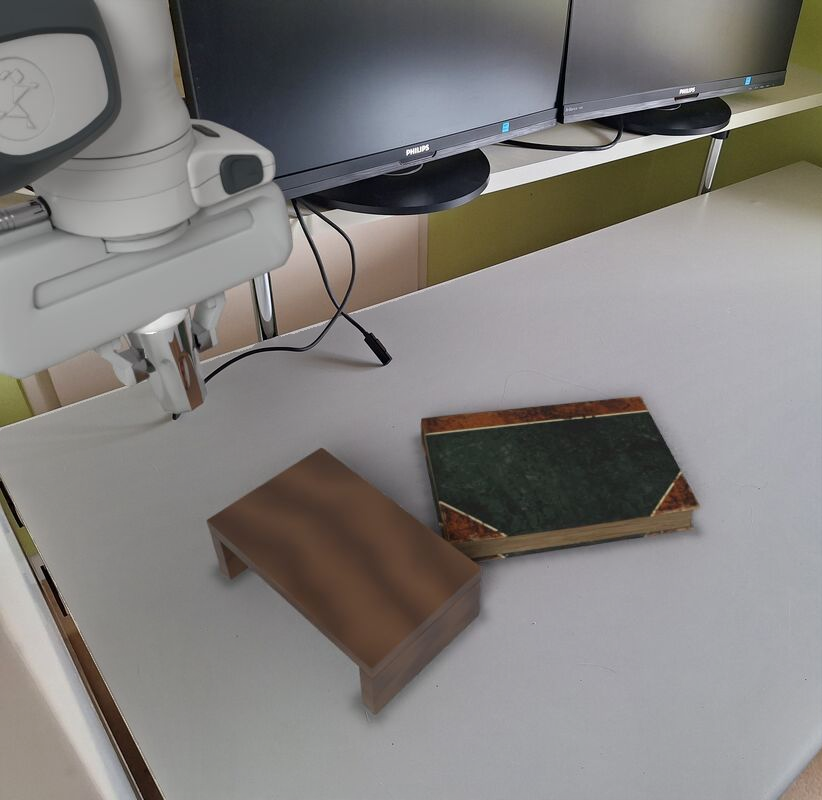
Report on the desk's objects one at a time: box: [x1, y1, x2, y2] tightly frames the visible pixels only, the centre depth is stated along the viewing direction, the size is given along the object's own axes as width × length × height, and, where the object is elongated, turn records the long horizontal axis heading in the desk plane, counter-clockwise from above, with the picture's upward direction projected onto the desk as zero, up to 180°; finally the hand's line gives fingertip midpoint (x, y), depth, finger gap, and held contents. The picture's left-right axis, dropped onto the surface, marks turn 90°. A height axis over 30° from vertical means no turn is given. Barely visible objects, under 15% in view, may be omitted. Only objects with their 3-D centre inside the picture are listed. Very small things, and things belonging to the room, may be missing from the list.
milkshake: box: [122, 307, 208, 415], centre depth 52 cm, size 4×5×10 cm
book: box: [420, 395, 701, 563], centre depth 78 cm, size 17×4×25 cm
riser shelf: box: [206, 446, 483, 715], centre depth 65 cm, size 12×20×7 cm, turn 52°
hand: (170, 361), depth 53 cm, fingers closed on milkshake, 4 cm apart
